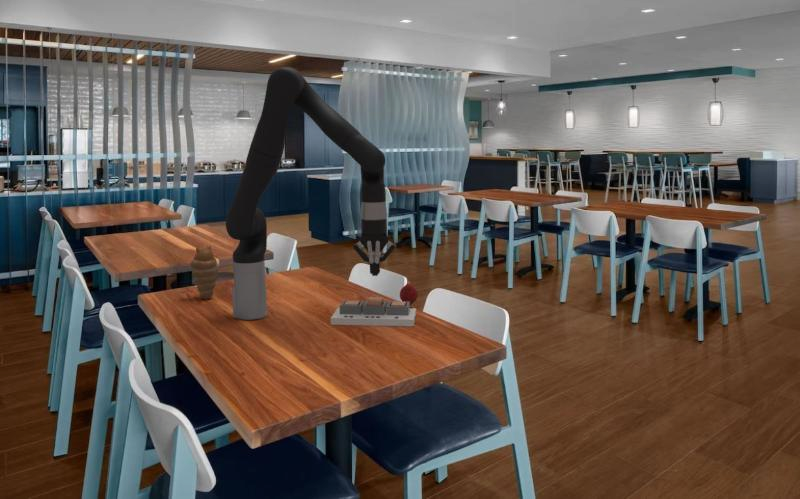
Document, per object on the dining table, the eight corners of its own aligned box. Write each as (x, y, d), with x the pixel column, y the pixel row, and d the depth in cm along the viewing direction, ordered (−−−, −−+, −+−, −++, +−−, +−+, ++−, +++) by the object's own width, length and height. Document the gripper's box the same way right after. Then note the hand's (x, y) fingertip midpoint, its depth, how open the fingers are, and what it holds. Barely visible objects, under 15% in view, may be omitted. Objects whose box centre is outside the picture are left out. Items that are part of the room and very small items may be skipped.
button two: (344, 310, 179) (344, 304, 179) (346, 307, 183) (346, 300, 183) (357, 311, 179) (357, 304, 178) (359, 307, 183) (359, 301, 182)
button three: (367, 306, 178) (367, 300, 178) (369, 303, 182) (369, 297, 182) (380, 307, 178) (380, 300, 178) (382, 303, 182) (382, 297, 182)
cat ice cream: (212, 294, 210) (209, 243, 207) (224, 298, 205) (221, 246, 202) (189, 299, 204) (185, 246, 201) (200, 303, 198) (197, 249, 195)
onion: (415, 308, 191) (415, 284, 189) (398, 307, 192) (398, 283, 191) (419, 304, 196) (419, 280, 195) (401, 303, 198) (401, 279, 196)
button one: (391, 311, 178) (391, 305, 178) (392, 308, 182) (392, 301, 182) (404, 311, 178) (404, 305, 177) (405, 308, 182) (405, 301, 181)
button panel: (330, 324, 174) (330, 309, 174) (338, 313, 186) (338, 299, 185) (413, 326, 172) (413, 311, 172) (416, 314, 184) (416, 300, 183)
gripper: (349, 218, 172) (350, 278, 175) (395, 218, 171) (396, 278, 174) (353, 215, 180) (355, 272, 183) (397, 215, 178) (398, 272, 181)
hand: (375, 275), depth 178 cm, fingers closed
